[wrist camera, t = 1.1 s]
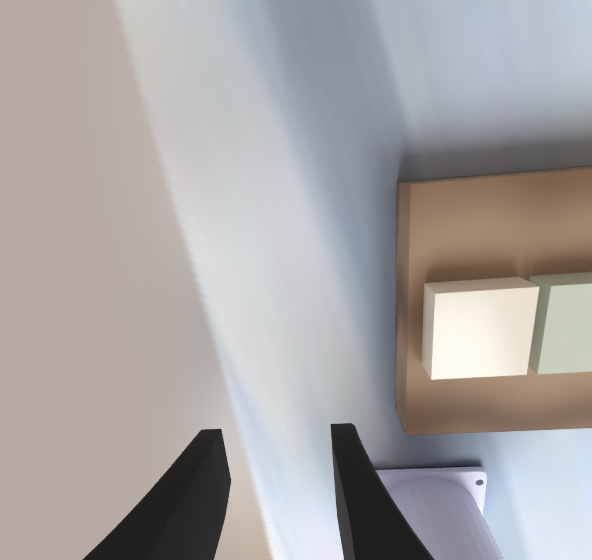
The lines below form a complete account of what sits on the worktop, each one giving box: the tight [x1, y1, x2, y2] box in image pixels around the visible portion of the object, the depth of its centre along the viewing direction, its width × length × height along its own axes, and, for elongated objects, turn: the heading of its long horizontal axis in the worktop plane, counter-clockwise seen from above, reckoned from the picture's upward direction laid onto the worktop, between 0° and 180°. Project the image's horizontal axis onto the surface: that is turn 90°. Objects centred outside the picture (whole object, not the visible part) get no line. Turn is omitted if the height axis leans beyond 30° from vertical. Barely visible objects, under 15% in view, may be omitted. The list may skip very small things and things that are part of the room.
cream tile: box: [422, 277, 539, 380], centre depth 16 cm, size 4×4×2 cm
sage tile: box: [528, 272, 592, 374], centre depth 16 cm, size 4×4×2 cm
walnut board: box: [395, 166, 592, 435], centre depth 18 cm, size 14×11×2 cm
